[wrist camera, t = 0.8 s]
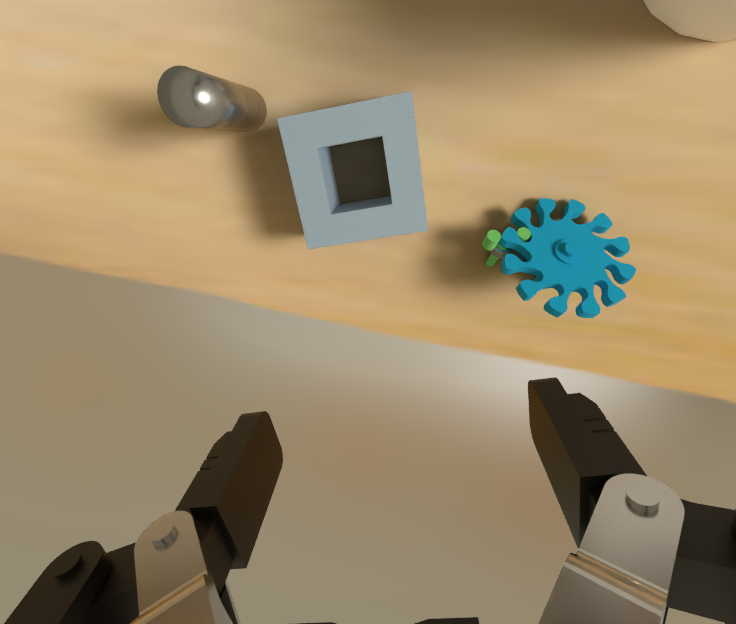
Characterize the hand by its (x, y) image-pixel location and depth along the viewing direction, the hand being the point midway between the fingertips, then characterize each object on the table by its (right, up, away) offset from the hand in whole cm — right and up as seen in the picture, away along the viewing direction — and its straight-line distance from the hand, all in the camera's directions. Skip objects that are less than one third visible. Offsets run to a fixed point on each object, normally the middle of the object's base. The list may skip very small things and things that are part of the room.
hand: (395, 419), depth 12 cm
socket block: (-1, +15, +20) cm, 25 cm away
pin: (-10, +19, +19) cm, 29 cm away
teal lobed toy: (+14, +9, +22) cm, 27 cm away
